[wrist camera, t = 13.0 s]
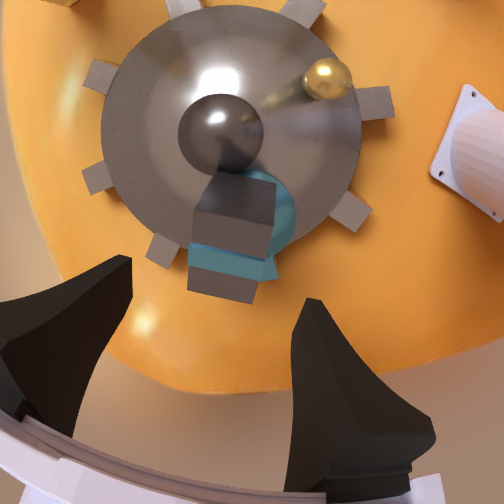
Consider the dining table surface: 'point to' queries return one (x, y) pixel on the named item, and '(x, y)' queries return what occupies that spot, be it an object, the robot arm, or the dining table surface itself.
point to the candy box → (62, 2)
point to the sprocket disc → (232, 121)
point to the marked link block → (231, 236)
